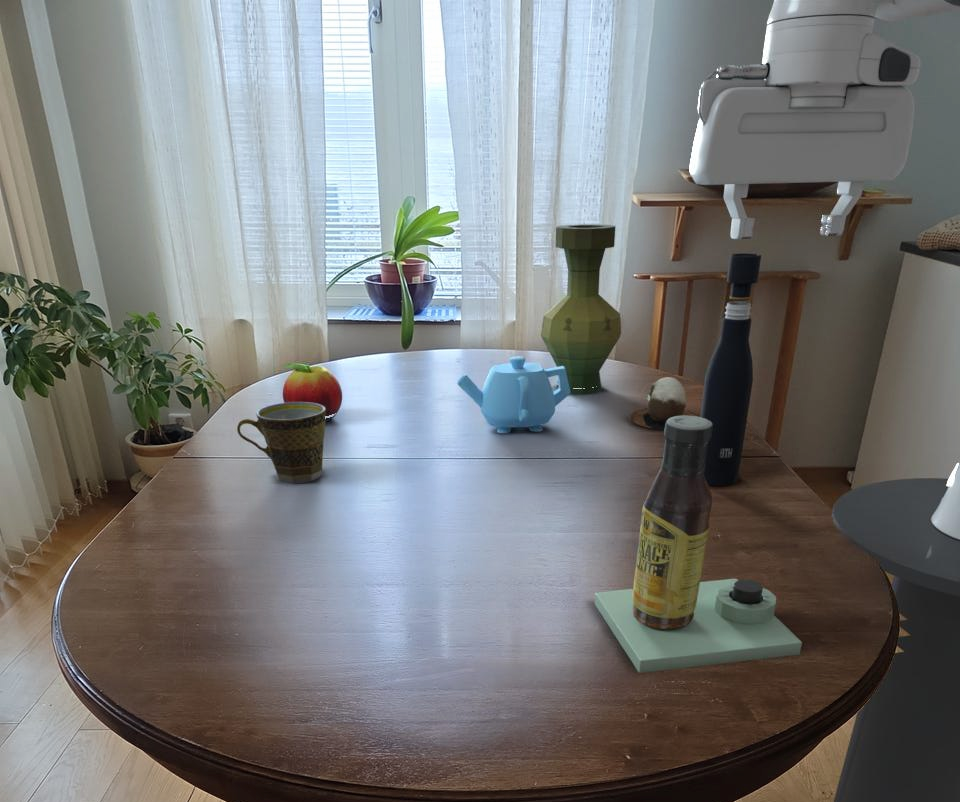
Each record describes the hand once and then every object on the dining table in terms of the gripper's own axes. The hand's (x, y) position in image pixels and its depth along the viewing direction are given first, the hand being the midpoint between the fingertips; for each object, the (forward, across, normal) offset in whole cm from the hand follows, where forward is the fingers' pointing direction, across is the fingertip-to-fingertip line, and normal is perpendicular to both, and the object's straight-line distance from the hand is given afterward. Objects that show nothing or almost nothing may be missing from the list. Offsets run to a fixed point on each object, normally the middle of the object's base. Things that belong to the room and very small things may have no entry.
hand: (786, 237), depth 79 cm
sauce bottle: (+33, -15, -15) cm, 39 cm away
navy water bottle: (+34, +9, +26) cm, 44 cm away
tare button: (+31, -6, -15) cm, 35 cm away
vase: (+34, +5, +84) cm, 91 cm away
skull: (+34, +13, +57) cm, 68 cm away
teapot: (+34, -14, +60) cm, 71 cm away
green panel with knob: (+34, -12, -15) cm, 39 cm away
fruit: (+34, -49, +73) cm, 94 cm away
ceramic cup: (+34, -53, +41) cm, 75 cm away
